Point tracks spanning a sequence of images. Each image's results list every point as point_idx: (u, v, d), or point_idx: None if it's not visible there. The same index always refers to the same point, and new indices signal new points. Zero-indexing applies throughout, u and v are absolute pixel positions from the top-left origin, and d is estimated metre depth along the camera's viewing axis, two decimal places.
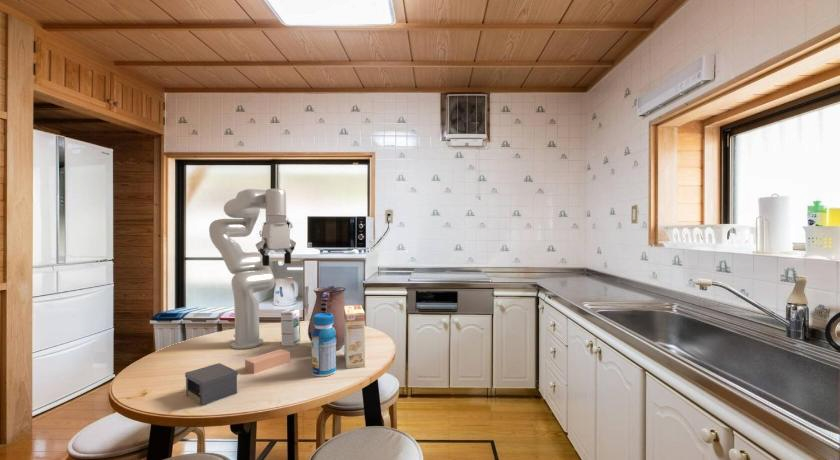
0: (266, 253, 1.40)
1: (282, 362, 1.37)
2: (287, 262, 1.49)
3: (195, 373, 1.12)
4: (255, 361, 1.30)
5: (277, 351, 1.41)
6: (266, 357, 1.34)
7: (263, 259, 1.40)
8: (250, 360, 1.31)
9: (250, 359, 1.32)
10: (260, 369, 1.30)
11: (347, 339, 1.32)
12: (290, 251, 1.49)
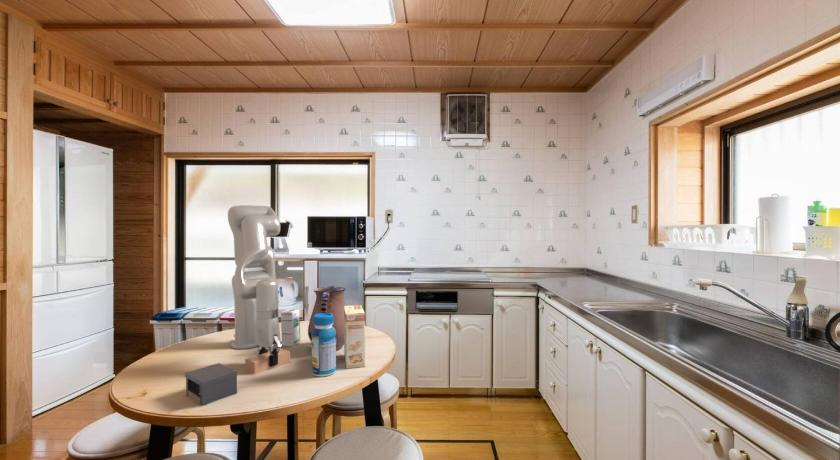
0: None
1: (282, 361, 1.37)
2: None
3: (195, 373, 1.12)
4: (256, 361, 1.29)
5: None
6: (266, 356, 1.34)
7: (274, 359, 1.33)
8: (250, 359, 1.31)
9: (250, 358, 1.32)
10: (260, 368, 1.30)
11: (347, 339, 1.32)
12: None
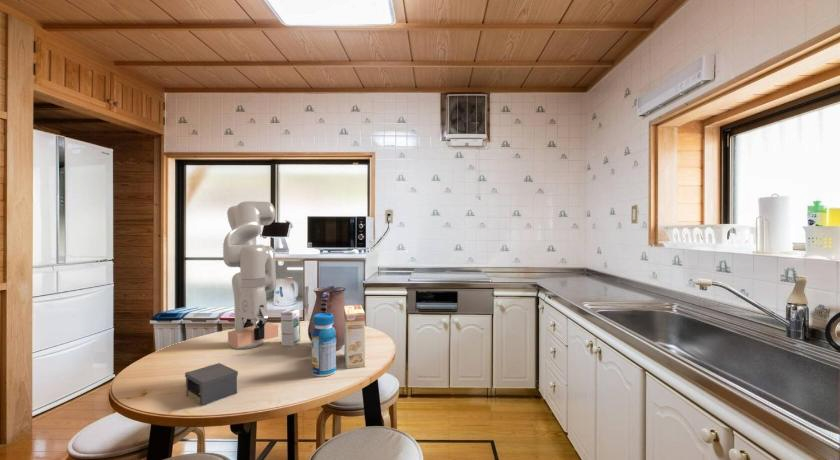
0: None
1: (269, 335, 1.25)
2: None
3: (195, 373, 1.12)
4: (239, 333, 1.17)
5: None
6: (252, 329, 1.22)
7: (260, 332, 1.21)
8: (234, 332, 1.19)
9: (234, 331, 1.20)
10: (244, 342, 1.18)
11: (347, 339, 1.32)
12: None
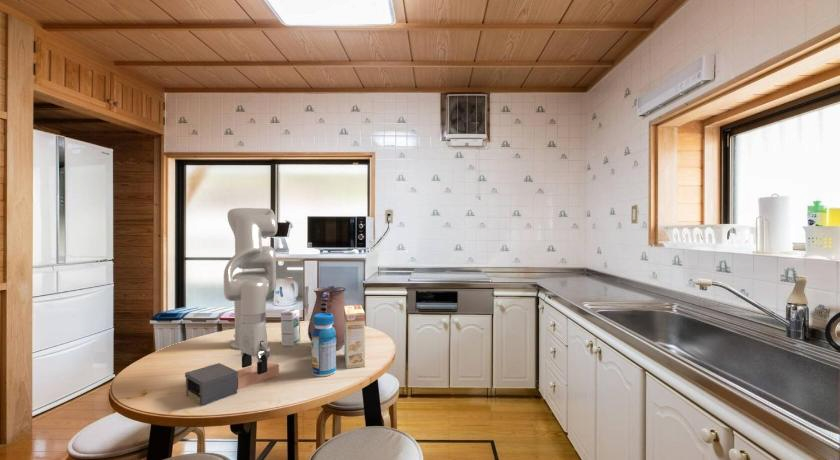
0: None
1: (270, 375, 1.25)
2: (248, 365, 1.26)
3: (195, 373, 1.12)
4: (239, 376, 1.17)
5: None
6: (252, 370, 1.22)
7: (263, 366, 1.20)
8: None
9: None
10: (245, 384, 1.18)
11: (347, 339, 1.32)
12: None
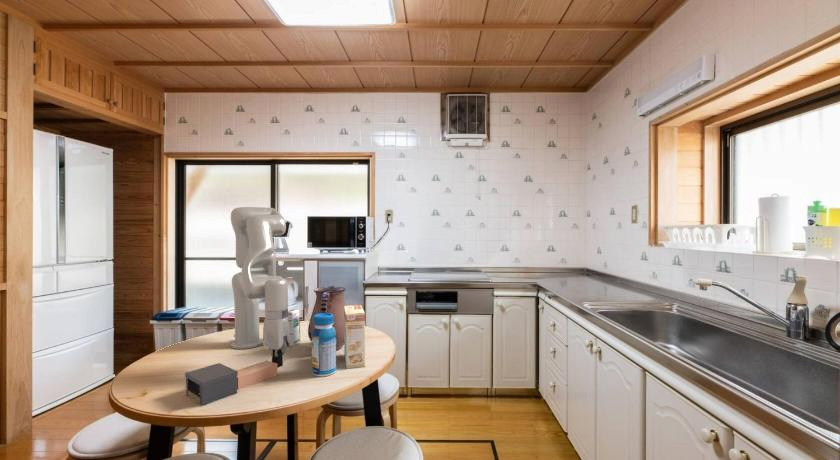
0: None
1: (269, 375, 1.25)
2: None
3: (195, 373, 1.12)
4: (239, 376, 1.17)
5: (263, 362, 1.28)
6: (251, 370, 1.22)
7: (279, 360, 1.29)
8: None
9: None
10: (244, 384, 1.18)
11: (347, 339, 1.32)
12: None
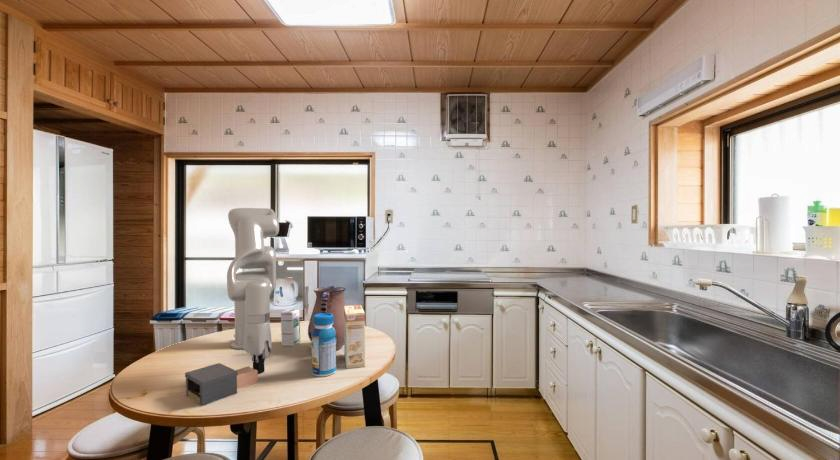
0: None
1: (248, 382, 1.19)
2: None
3: (195, 373, 1.12)
4: None
5: (243, 369, 1.23)
6: None
7: (260, 366, 1.23)
8: None
9: None
10: None
11: (347, 339, 1.32)
12: None
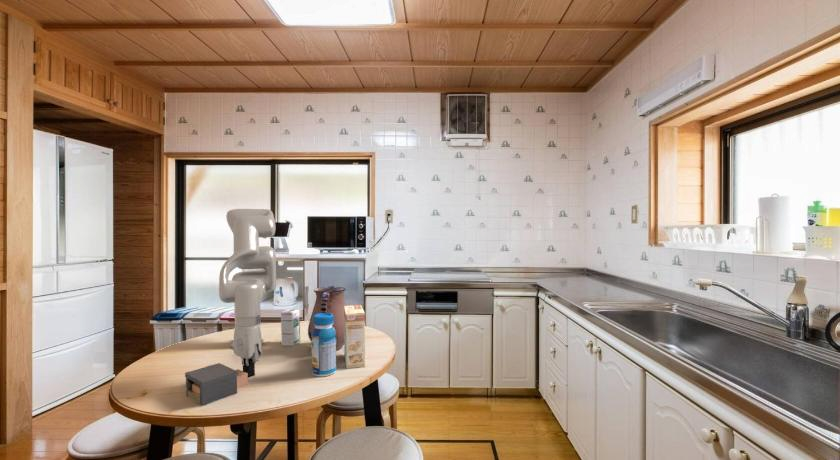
0: None
1: (238, 386, 1.17)
2: None
3: (195, 373, 1.12)
4: None
5: None
6: None
7: (250, 370, 1.21)
8: None
9: None
10: None
11: (347, 339, 1.32)
12: None
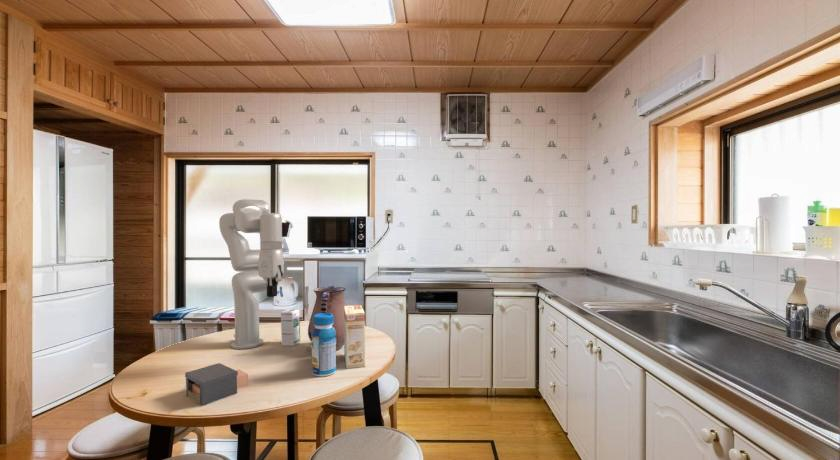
0: None
1: (238, 386, 1.17)
2: None
3: (195, 373, 1.12)
4: None
5: None
6: None
7: (274, 290, 1.36)
8: (198, 385, 1.11)
9: None
10: None
11: (347, 339, 1.32)
12: None
